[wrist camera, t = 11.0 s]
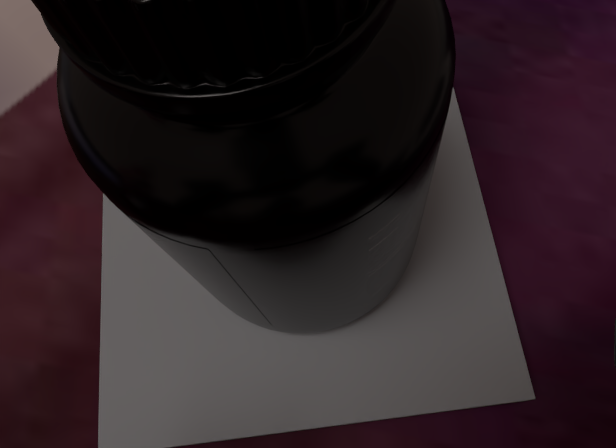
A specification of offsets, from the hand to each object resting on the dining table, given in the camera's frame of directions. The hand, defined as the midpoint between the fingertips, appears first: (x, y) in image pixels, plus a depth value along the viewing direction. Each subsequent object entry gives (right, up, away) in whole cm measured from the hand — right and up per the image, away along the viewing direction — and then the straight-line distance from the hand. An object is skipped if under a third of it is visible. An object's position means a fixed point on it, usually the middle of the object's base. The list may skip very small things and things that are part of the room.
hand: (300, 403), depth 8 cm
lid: (0, +2, +10) cm, 11 cm away
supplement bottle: (0, +2, +10) cm, 10 cm away
